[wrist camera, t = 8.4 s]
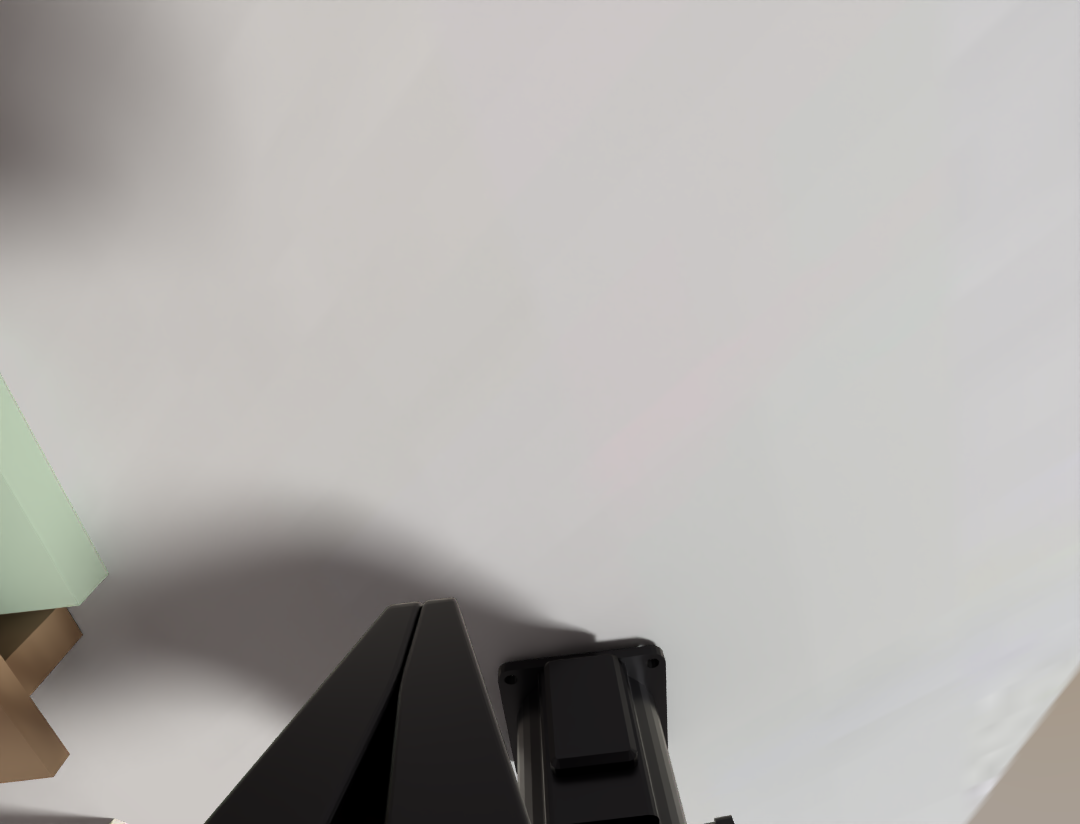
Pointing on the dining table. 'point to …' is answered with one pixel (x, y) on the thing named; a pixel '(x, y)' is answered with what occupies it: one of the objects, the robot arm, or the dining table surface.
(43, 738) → the low shelf
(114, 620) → the dining table surface
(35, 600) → the cover plate
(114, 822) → the milk
